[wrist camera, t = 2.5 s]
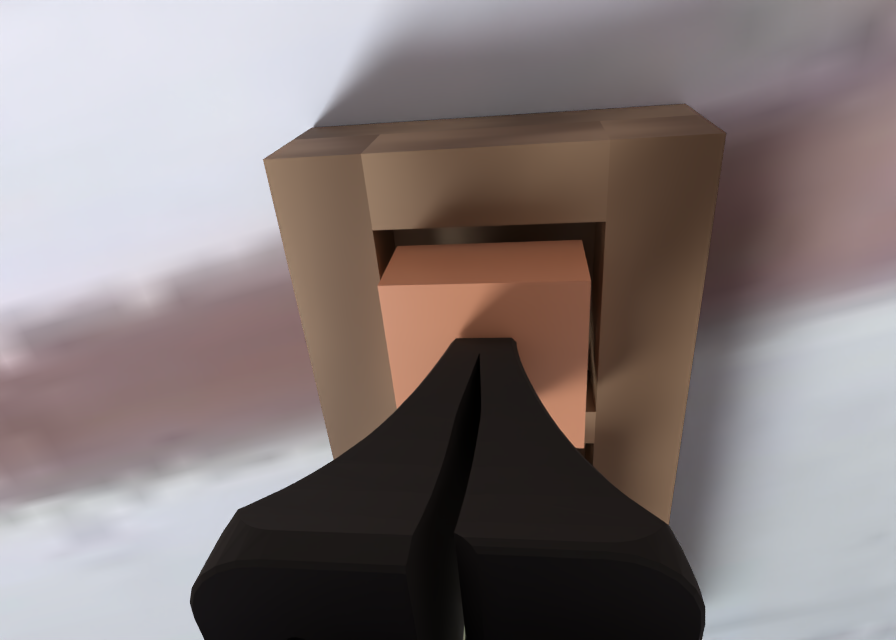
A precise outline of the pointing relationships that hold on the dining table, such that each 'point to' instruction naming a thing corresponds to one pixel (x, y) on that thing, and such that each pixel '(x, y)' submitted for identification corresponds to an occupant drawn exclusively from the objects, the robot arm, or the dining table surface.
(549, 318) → the key rust
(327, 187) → the wooden tray
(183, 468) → the dining table surface
